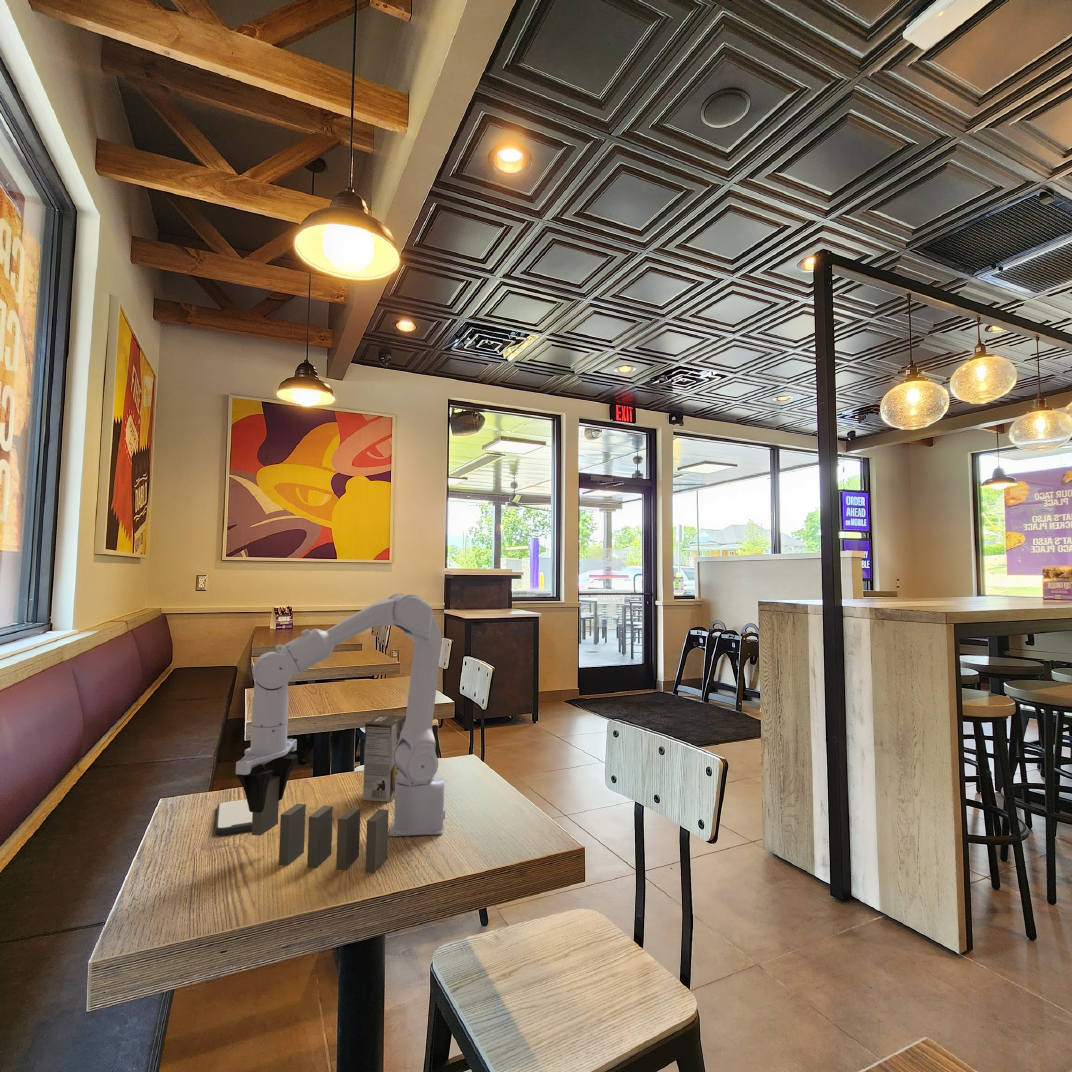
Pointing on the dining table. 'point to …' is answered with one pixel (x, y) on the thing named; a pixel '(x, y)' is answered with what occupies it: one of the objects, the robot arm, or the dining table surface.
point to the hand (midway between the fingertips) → (266, 805)
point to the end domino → (267, 809)
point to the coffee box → (381, 757)
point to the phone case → (233, 818)
